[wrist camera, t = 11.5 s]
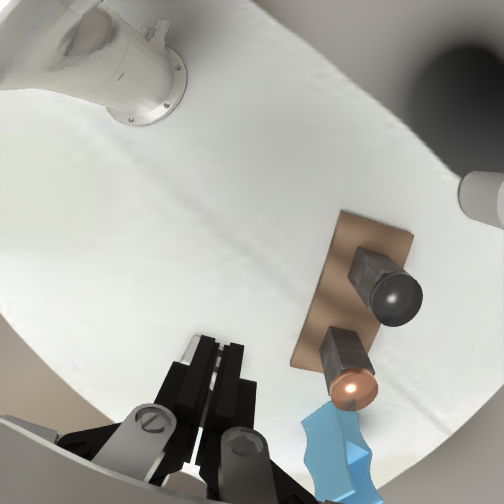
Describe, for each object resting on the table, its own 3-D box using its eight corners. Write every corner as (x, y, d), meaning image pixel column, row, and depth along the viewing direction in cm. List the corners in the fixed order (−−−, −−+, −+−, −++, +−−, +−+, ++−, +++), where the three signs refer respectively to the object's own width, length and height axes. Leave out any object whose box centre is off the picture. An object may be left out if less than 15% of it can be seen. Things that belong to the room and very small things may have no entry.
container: (194, 333, 47) (170, 384, 35) (239, 355, 48) (228, 411, 35) (176, 367, 49) (152, 419, 37) (218, 387, 50) (204, 443, 37)
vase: (361, 415, 50) (385, 501, 30) (329, 438, 52) (341, 523, 32) (333, 397, 49) (353, 490, 30) (301, 421, 51) (307, 512, 31)
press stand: (340, 210, 41) (365, 226, 30) (410, 233, 41) (451, 255, 30) (289, 361, 47) (293, 412, 36) (353, 373, 47) (370, 422, 36)
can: (453, 215, 40) (500, 231, 28) (458, 166, 38) (508, 168, 26) (487, 221, 40) (535, 238, 28) (493, 175, 38) (542, 181, 26)
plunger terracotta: (327, 322, 43) (342, 372, 32) (362, 330, 43) (386, 378, 32) (314, 354, 45) (324, 408, 33) (348, 361, 45) (365, 413, 33)
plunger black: (355, 241, 40) (385, 269, 29) (391, 252, 40) (430, 282, 29) (342, 281, 42) (365, 321, 30) (378, 290, 42) (410, 330, 30)
